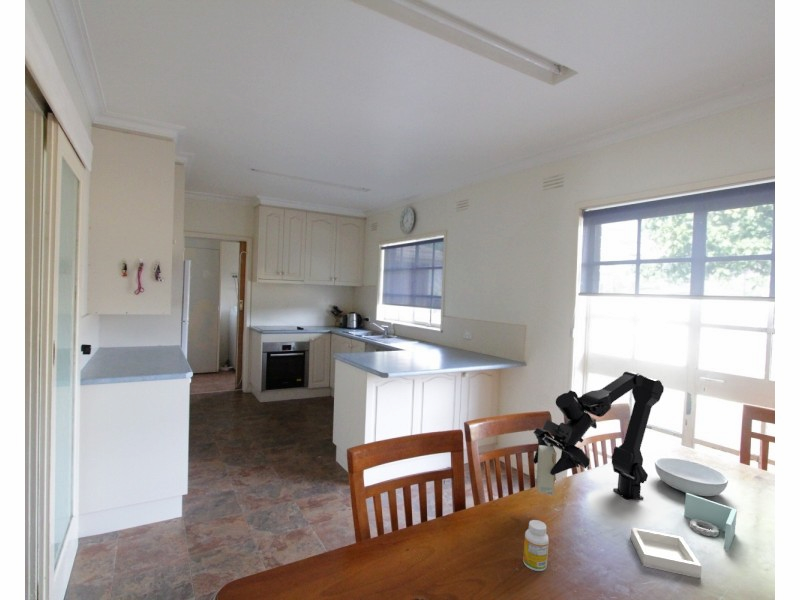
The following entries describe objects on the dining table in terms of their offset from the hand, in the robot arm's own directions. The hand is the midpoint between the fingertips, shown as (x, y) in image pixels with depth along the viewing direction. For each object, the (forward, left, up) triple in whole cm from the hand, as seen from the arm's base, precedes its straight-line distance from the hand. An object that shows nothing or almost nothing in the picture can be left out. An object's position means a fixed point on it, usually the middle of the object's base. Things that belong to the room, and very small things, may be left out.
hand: (542, 468), depth 122 cm
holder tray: (+22, +22, -13) cm, 34 cm away
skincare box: (0, +1, -7) cm, 7 cm away
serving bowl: (-11, +62, -14) cm, 65 cm away
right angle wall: (+12, +44, -14) cm, 48 cm away
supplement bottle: (+22, -13, -13) cm, 29 cm away
